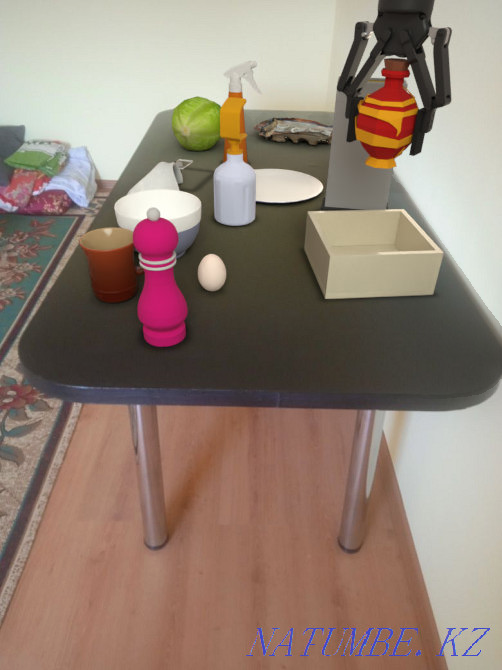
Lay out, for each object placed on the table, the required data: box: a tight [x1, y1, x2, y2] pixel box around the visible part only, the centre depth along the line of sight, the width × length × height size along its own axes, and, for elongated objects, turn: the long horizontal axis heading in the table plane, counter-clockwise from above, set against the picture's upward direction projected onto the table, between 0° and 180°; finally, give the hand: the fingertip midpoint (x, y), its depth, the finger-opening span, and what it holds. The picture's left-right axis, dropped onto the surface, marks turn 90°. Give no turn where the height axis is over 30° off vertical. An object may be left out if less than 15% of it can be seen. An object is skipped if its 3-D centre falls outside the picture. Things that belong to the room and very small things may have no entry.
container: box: [320, 75, 409, 211], centre depth 109 cm, size 7×18×30 cm, turn 80°
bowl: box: [113, 189, 202, 260], centre depth 98 cm, size 16×16×10 cm
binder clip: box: [173, 158, 194, 177], centre depth 135 cm, size 6×4×6 cm, turn 162°
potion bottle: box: [355, 57, 420, 169], centre depth 80 cm, size 10×10×15 cm
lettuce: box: [171, 95, 222, 152], centre depth 155 cm, size 15×23×16 cm
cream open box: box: [303, 208, 445, 300], centre depth 93 cm, size 19×19×8 cm
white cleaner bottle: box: [213, 97, 257, 227], centre depth 108 cm, size 9×9×25 cm
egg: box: [197, 253, 227, 292], centre depth 87 cm, size 5×5×7 cm
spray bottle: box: [222, 60, 263, 164], centre depth 140 cm, size 7×11×26 cm, turn 72°
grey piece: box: [253, 117, 333, 146], centre depth 169 cm, size 30×22×5 cm
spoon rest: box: [126, 161, 184, 195], centre depth 120 cm, size 24×12×7 cm, turn 173°
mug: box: [78, 226, 145, 304], centre depth 85 cm, size 12×9×10 cm
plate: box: [254, 168, 324, 205], centre depth 131 cm, size 25×25×1 cm
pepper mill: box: [133, 207, 189, 348], centre depth 72 cm, size 7×7×20 cm
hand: (382, 146), depth 82 cm, fingers closed on potion bottle, 10 cm apart
